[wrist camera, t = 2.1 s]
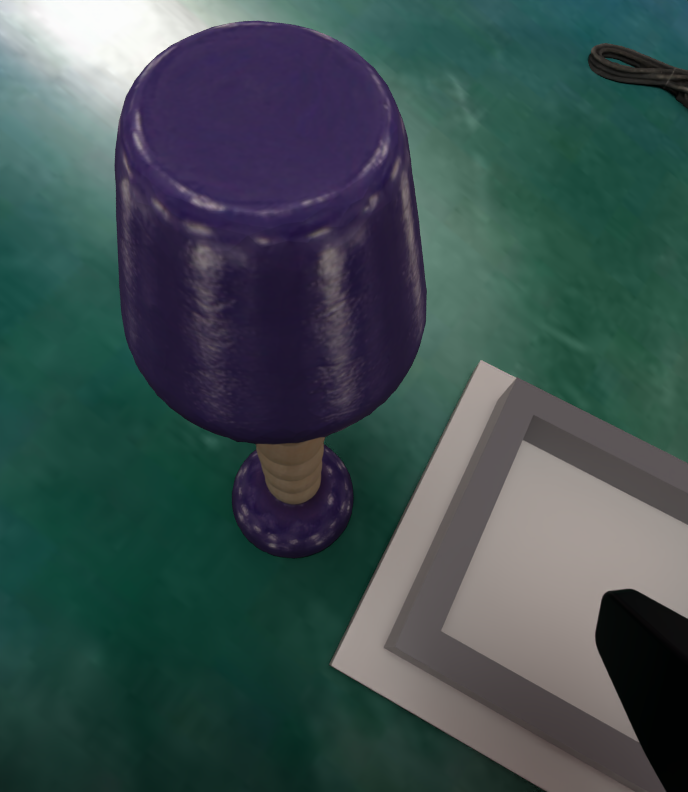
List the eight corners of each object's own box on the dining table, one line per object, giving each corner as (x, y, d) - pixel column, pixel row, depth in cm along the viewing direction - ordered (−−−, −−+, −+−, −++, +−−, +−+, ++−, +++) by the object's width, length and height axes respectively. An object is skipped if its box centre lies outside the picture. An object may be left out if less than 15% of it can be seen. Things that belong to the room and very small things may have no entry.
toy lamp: (263, 595, 20) (199, 402, 5) (188, 483, 21) (-57, 43, 6) (377, 510, 21) (606, 154, 6) (300, 409, 23) (333, -95, 7)
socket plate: (763, 518, 23) (829, 499, 20) (682, 870, 18) (754, 909, 15) (473, 371, 24) (497, 334, 21) (328, 664, 19) (336, 666, 17)
